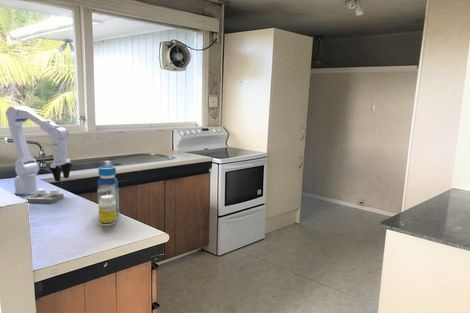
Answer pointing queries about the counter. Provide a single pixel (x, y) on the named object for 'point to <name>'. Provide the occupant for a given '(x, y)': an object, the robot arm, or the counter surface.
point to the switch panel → (45, 198)
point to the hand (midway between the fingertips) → (62, 179)
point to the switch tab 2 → (54, 192)
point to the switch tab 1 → (40, 191)
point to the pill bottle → (107, 210)
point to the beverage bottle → (108, 184)
